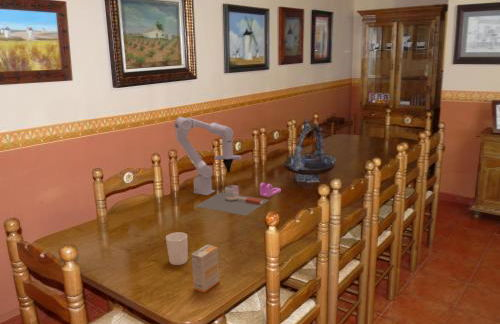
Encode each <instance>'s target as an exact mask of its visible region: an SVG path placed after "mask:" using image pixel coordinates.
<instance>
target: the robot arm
mask: <svg viewBox="0 0 500 324" xmlns="http://www.w3.org/2000/svg"><path fill="white" fill-rule="evenodd" d="M173 125H174V128H175V129H174V131H175V139H176V141H177V142H178V143H179V145H180V146H181V148H182V149H183V150H184V152H185V153H186V155H187V156H188V157H189V159H190V160H191V162H192V163H193V166H194V167H195V170H196V173H197V174H198V175H196V176H194V179H193V194H198V195H203V196H208V195H210V194H213V193H214V192H216V190H215V189H213V188H212V187H213V186H212V185H213V184H212V183H213V182H212V176H213V169H212V168H211V167H210V166H208V165H207V163H206V162H205V161H204V160H203V158H202V157H201V156H200V154H199V153H198V151H197V150H196V149H195V147H194V146H193V144H192V143H191V141H190V140H189V139H188V135H189V132H190V131H191V129H194V128H196V127H197V128H200V129H204V130H208V132H209V133H210V134H213V135H217V136H219V137H221V144H222V145H221V146H222V150H221V151H222V154H221V155H215V156H214V161H219V160H220V161H222V163H223V164H224V166H225V169H226V173H231V168H232V167H231V166H232V164H233V161H234V160H240V161H241V160H242V155H238V154H237V155H236V154H234V145H233V144H234V143H233V137H234V135H235V132H234V130H233V128H231V127H229V126H226V125H225V124H223V125H222V124H219V123H218V122H211V123H206V122H205V121H201V120H199V119H197V118H193V117H192V118H191V117H184V116H178V117H177V118H176V119H175V121H174V124H173Z"/></svg>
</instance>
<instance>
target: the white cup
mask: <svg viewBox="0 0 500 324" xmlns="http://www.w3.org/2000/svg"><path fill="white" fill-rule="evenodd" d="M165 241H166V248H167V249H166V250H167V255H168V259H169V261H168V262H169V263H170V264H171V265H173V266H180V265H184V264H186V263H187V262H188V259H189V258H188V254H189V253H188V251H189V250H188V249H189V247H188V245H189V243H188V234H187V233H185V232H180V231H179V232H178V231H176V232H172V233H168V234H167V235H166V236H165Z"/></svg>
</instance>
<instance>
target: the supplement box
mask: <svg viewBox="0 0 500 324" xmlns="http://www.w3.org/2000/svg"><path fill="white" fill-rule="evenodd" d="M218 253H219V252H218V246H217V247H216V246H213V245H210V244H206V245H204V246H202V247H201V248H199V249H197V250H195V251H194V252H192V253H190V255H191V265H192V278H193V289H194V290H196V291H198V292H201V293H206V292H207V291H209V290H211V289H212V288H213V287H214V286H216V285H218V284H219V283H220V269H219V268H220V267H219V254H218Z"/></svg>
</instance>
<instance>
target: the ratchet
mask: <svg viewBox="0 0 500 324" xmlns="http://www.w3.org/2000/svg"><path fill="white" fill-rule="evenodd" d="M239 195H240V194H239ZM239 195H238V196H236V197H234V198H231V197H226V201H230V202H233V201H239V202H245V203H250V204H256V205H261V204H263V199H264V198H260V199H256V198H257V197H254V198H250V197H251V196H248V197H249V198H245V197H239ZM263 205H264V204H263ZM261 206H262V205H261Z"/></svg>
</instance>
